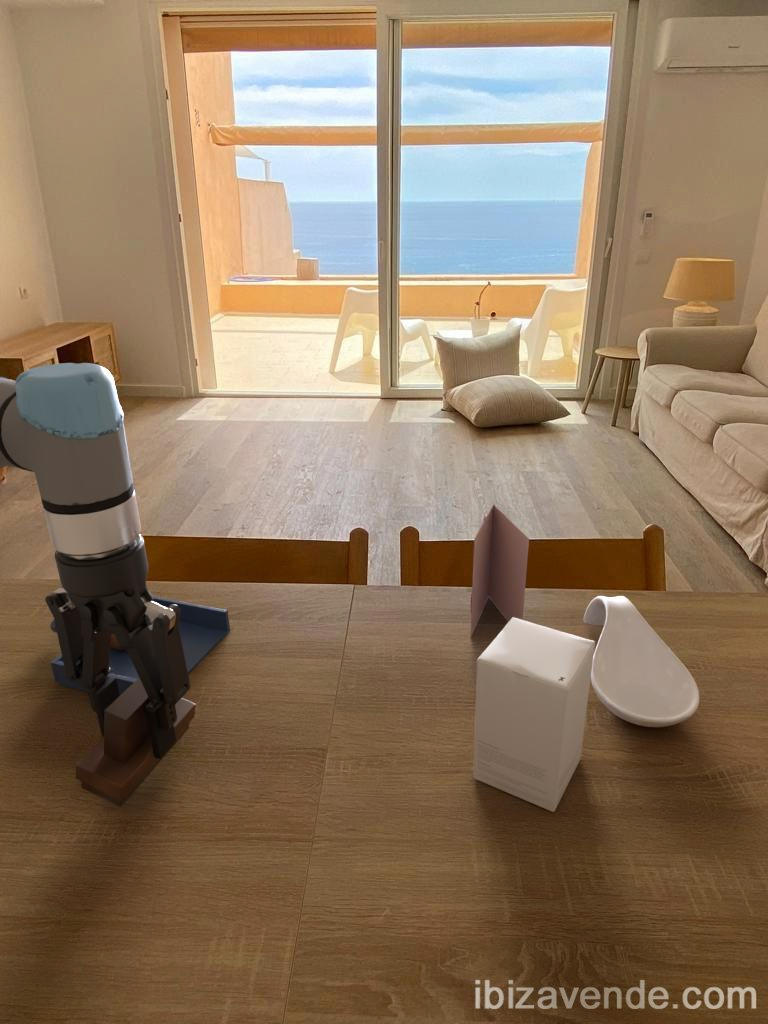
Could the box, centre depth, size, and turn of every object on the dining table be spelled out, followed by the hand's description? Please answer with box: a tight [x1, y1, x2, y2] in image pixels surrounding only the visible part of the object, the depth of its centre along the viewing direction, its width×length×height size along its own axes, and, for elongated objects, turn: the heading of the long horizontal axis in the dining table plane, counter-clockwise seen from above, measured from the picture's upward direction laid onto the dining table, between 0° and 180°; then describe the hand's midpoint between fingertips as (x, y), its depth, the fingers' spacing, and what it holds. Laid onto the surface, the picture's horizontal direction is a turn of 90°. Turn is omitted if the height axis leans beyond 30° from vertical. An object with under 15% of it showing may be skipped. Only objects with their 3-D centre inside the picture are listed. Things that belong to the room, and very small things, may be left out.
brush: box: [75, 678, 196, 808], centre depth 70 cm, size 5×12×10 cm, turn 161°
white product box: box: [472, 617, 596, 813], centre depth 70 cm, size 9×9×15 cm
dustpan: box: [50, 595, 231, 695], centre depth 92 cm, size 23×17×3 cm
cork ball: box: [110, 633, 126, 651], centre depth 92 cm, size 4×4×4 cm
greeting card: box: [469, 503, 530, 638], centre depth 95 cm, size 11×7×15 cm, turn 160°
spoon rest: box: [582, 595, 700, 728], centre depth 85 cm, size 24×12×7 cm, turn 0°
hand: (140, 741), depth 72 cm, fingers closed on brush, 5 cm apart
